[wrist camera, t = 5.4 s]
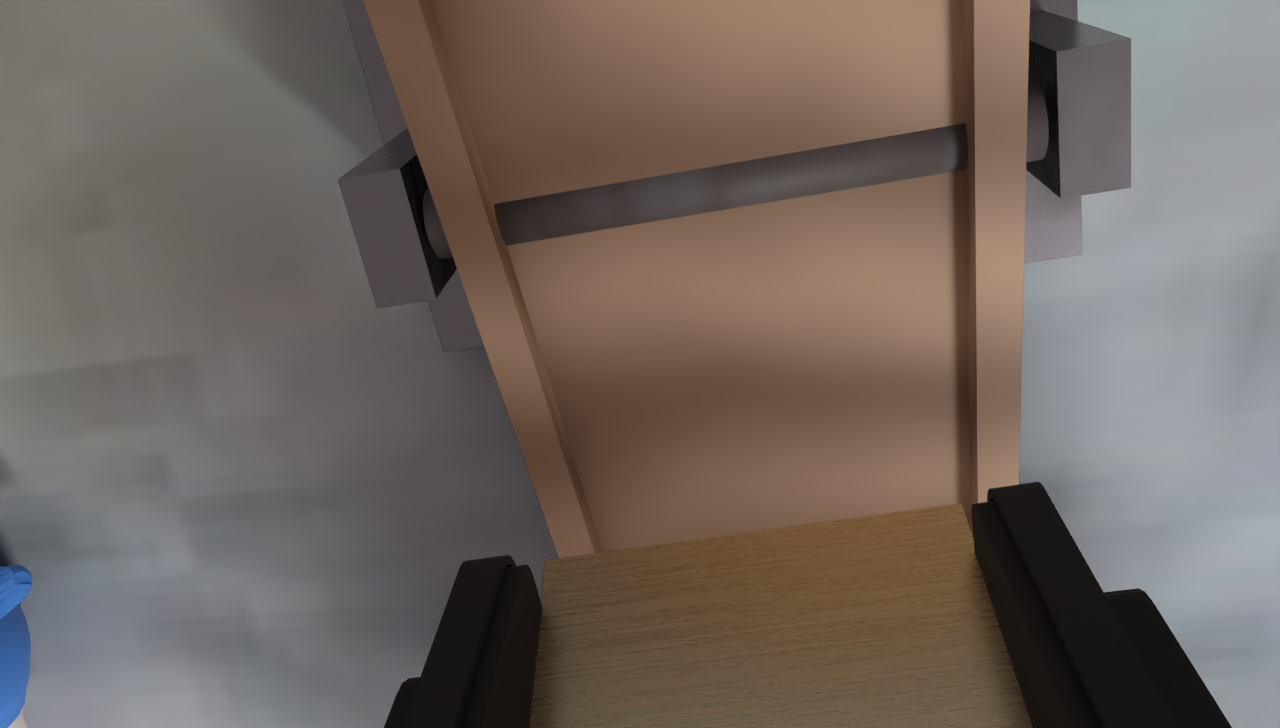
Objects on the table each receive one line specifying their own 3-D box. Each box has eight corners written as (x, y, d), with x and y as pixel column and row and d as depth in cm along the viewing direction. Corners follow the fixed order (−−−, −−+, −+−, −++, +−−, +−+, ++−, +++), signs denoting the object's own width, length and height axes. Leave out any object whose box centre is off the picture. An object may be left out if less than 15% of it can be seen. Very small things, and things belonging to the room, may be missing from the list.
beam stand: (1070, 243, 29) (1169, 336, 23) (451, 339, 31) (387, 447, 25) (1060, -151, 25) (1176, -168, 19) (354, -8, 27) (249, 19, 21)
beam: (1015, 618, 32) (1045, 706, 30) (600, 663, 34) (594, 751, 31) (1056, -1207, 13) (1157, -1416, 10) (66, -879, 14) (-67, -985, 12)
